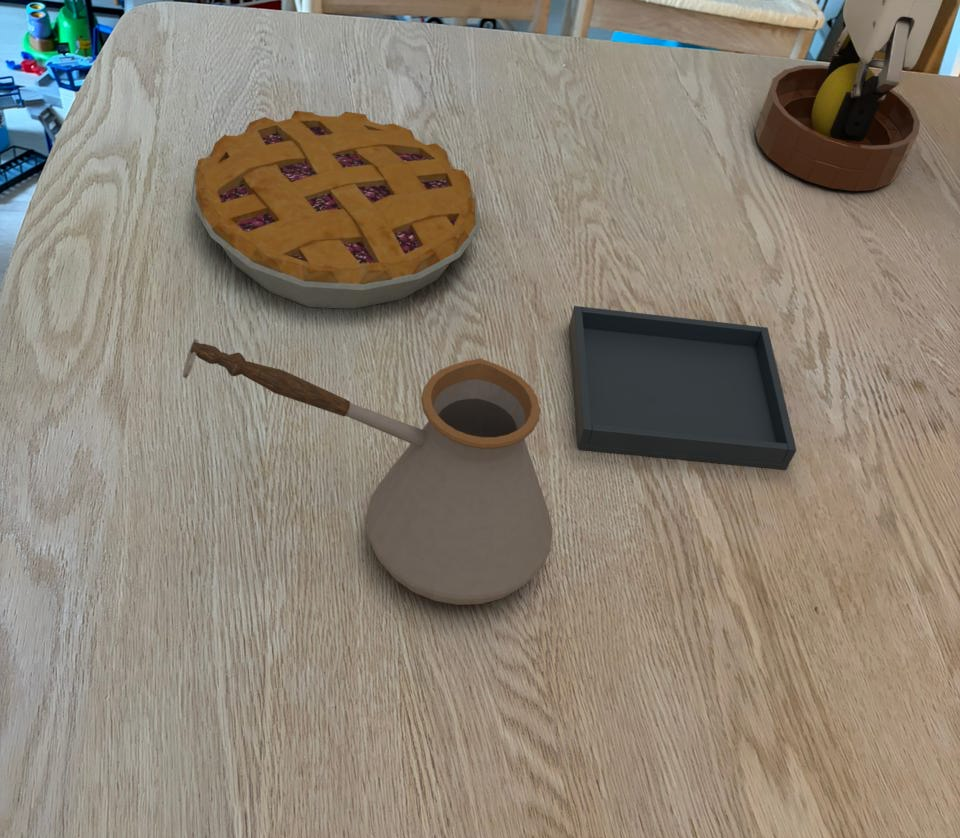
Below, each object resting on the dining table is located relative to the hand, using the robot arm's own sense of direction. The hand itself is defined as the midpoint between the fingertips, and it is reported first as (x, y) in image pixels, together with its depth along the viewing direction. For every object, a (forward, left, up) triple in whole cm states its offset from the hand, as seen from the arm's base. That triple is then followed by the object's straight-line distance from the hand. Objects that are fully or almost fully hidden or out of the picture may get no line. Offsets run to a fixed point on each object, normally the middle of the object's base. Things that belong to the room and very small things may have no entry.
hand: (839, 117), depth 99 cm
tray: (+19, +37, -3) cm, 42 cm away
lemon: (0, 0, -3) cm, 3 cm away
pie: (+45, +22, -4) cm, 50 cm away
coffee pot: (+40, +54, -4) cm, 67 cm away
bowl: (0, 0, -3) cm, 3 cm away
